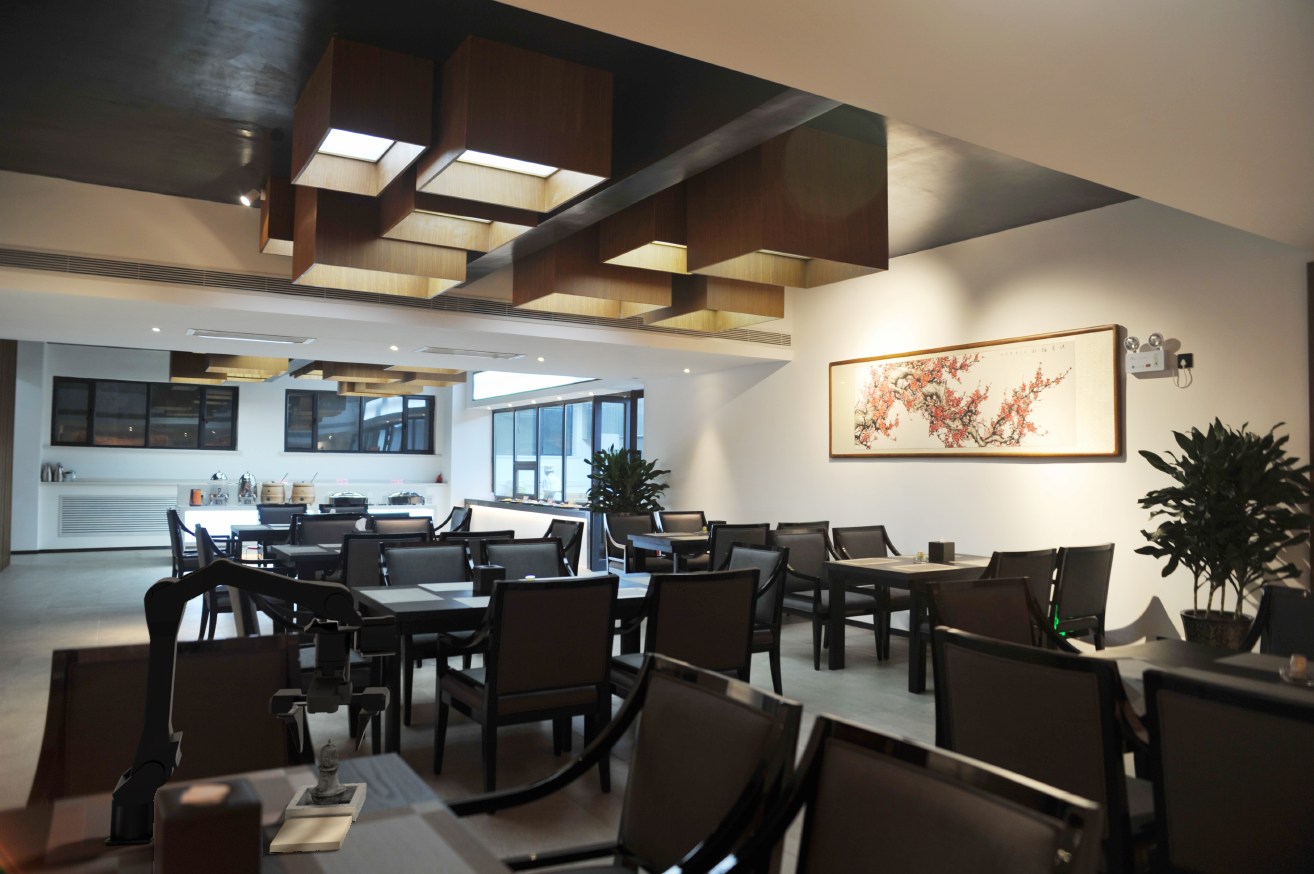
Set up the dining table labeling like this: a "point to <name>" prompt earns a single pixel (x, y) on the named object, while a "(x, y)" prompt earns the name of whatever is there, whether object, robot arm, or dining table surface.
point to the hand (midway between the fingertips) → (328, 751)
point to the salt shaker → (328, 778)
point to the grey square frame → (352, 792)
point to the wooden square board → (311, 834)
